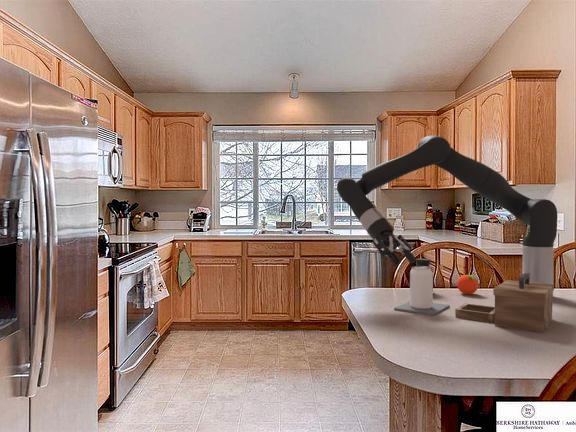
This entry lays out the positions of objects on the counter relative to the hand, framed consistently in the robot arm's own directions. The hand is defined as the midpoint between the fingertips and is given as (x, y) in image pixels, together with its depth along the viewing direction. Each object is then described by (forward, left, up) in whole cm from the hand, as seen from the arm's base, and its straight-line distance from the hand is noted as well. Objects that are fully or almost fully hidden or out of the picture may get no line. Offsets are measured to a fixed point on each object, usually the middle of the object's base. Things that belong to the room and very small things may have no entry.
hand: (406, 262), depth 136 cm
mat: (+1, +5, -13) cm, 14 cm away
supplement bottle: (-24, -4, -14) cm, 28 cm away
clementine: (-30, +10, -14) cm, 35 cm away
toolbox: (+1, +28, -13) cm, 31 cm away
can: (+2, +5, -13) cm, 14 cm away
